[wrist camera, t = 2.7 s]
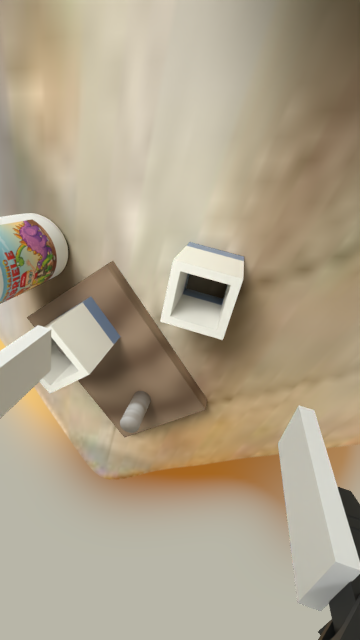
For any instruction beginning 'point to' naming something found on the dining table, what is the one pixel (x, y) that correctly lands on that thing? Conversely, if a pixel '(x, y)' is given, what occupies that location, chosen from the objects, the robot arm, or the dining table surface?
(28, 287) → the milk bottle
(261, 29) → the dining table surface
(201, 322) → the white sleeve
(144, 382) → the pin board
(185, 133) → the dining table surface
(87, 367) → the seated sleeve
